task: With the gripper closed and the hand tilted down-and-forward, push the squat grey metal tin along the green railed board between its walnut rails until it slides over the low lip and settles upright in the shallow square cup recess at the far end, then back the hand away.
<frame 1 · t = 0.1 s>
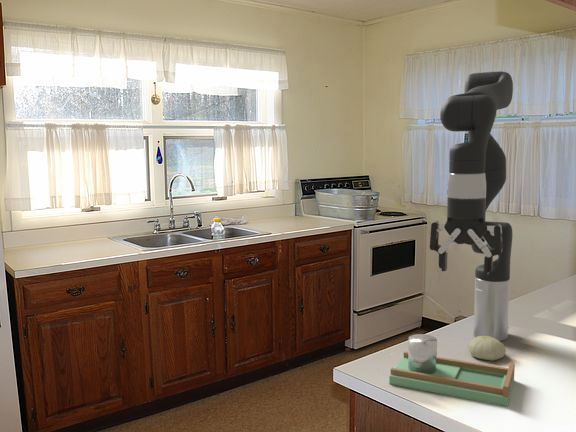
hand: (464, 272, 115), 29 cm above the kitchen counter, tool pointing down, fingers open, 8 cm apart
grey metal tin: (422, 368, 132), point 2 cm above the kitchen counter, touching green railed board
green railed board: (451, 382, 129), on the kitchen counter
sea urchin shell: (486, 356, 145), on the kitchen counter
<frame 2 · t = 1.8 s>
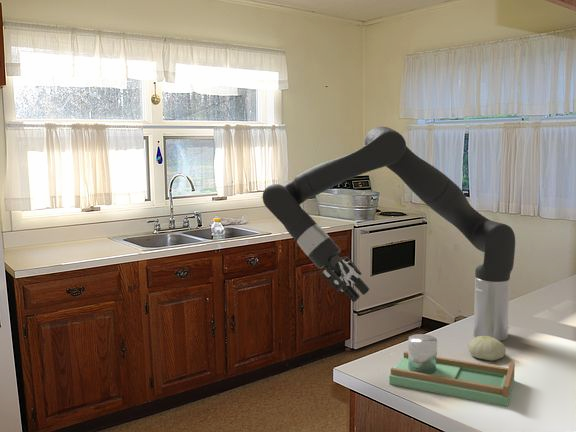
hand: (361, 295, 137), 18 cm above the kitchen counter, tool tilted 45°, fingers open, 6 cm apart
nothing on the kitchen counter moved.
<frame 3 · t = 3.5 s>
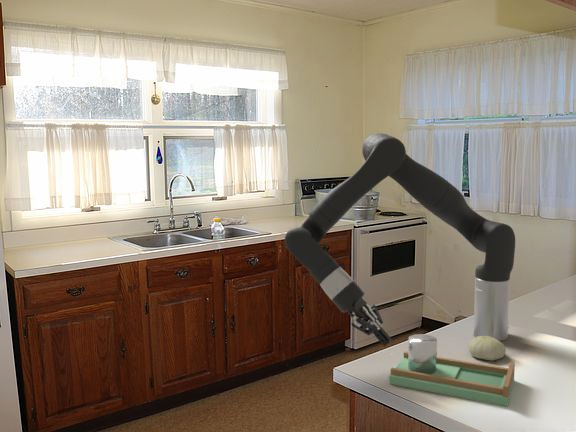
hand: (388, 343, 136), 7 cm above the kitchen counter, tool tilted 45°, fingers closed
nothing on the kitchen counter moved.
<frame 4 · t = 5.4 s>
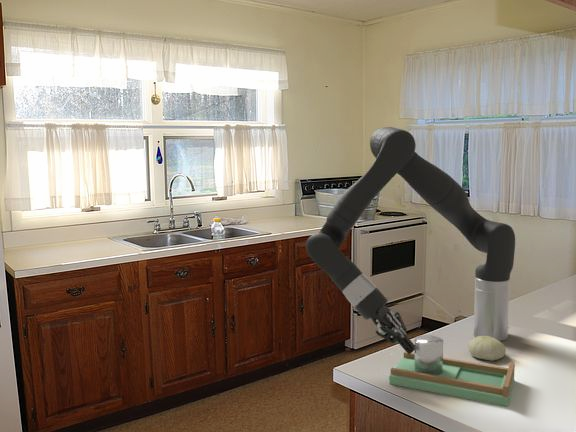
hand: (412, 351, 133), 6 cm above the kitchen counter, tool tilted 45°, fingers closed
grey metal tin: (428, 369, 132), point 2 cm above the kitchen counter, touching gripper, green railed board
everything else where it was.
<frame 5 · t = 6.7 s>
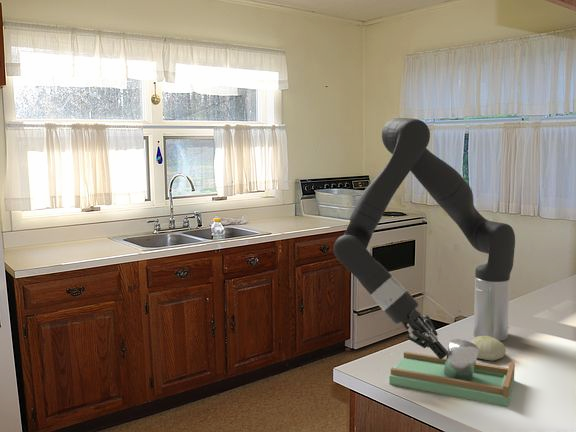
hand: (444, 356, 129), 6 cm above the kitchen counter, tool tilted 45°, fingers closed
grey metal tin: (457, 374, 129), point 2 cm above the kitchen counter, tilted 10°, touching gripper, green railed board
everything else where it was.
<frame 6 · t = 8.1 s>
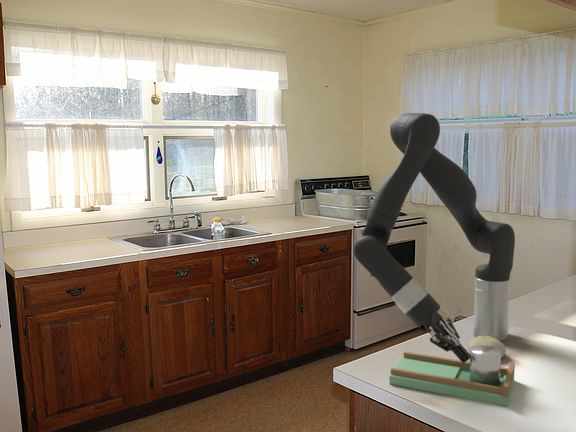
hand: (467, 359, 127), 6 cm above the kitchen counter, tool tilted 45°, fingers closed
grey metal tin: (484, 381, 126), point 1 cm above the kitchen counter, touching gripper, green railed board
everything else where it was.
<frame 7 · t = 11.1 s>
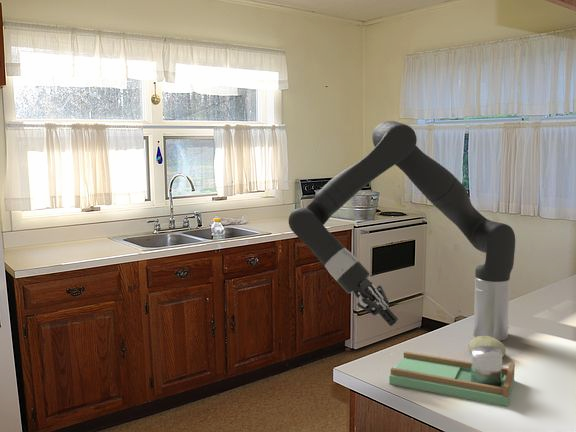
hand: (394, 322, 134), 12 cm above the kitchen counter, tool tilted 45°, fingers closed
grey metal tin: (485, 382, 126), point 1 cm above the kitchen counter, touching green railed board
everything else where it was.
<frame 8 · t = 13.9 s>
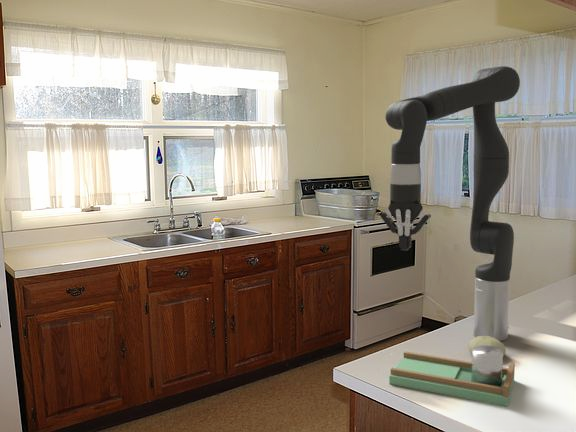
hand: (404, 249, 140), 29 cm above the kitchen counter, tool pointing down, fingers closed
nothing on the kitchen counter moved.
at the end: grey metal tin 0.7 cm from the target spot on the green railed board, point 1.4 cm above the green railed board's base; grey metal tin tilted 0°; the gripper is holding nothing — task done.
